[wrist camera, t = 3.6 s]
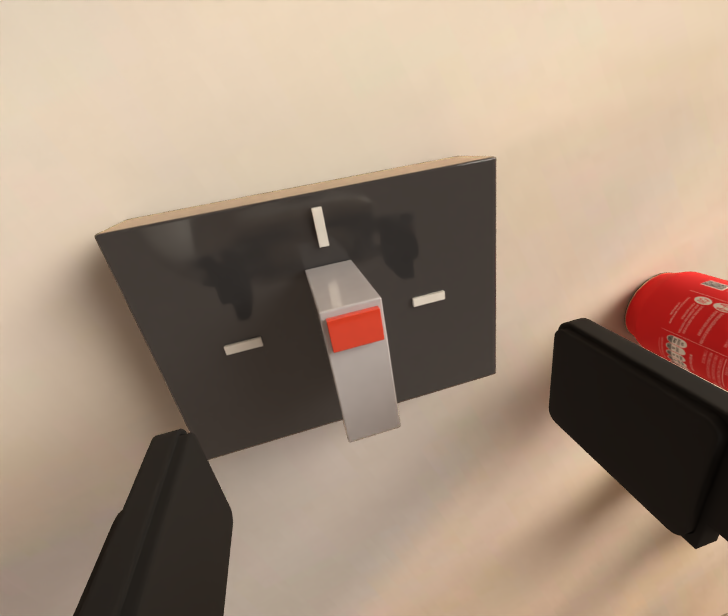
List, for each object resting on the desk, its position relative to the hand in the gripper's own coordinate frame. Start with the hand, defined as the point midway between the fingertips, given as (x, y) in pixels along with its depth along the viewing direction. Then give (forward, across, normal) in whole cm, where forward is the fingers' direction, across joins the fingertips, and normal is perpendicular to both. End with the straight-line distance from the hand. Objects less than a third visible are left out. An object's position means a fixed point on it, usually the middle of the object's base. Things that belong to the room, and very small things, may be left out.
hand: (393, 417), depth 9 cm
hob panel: (+9, 0, 0) cm, 9 cm away
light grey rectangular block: (+6, 0, 0) cm, 6 cm away
